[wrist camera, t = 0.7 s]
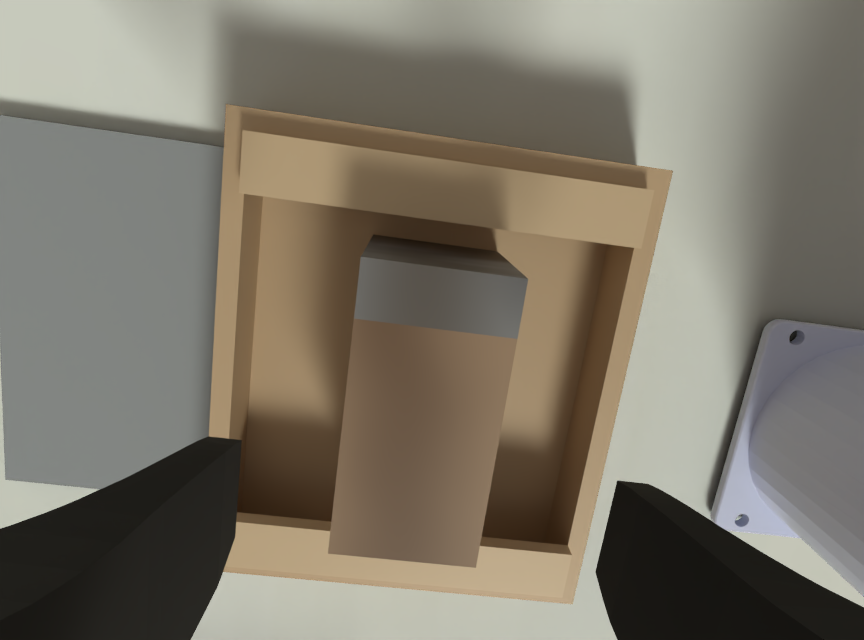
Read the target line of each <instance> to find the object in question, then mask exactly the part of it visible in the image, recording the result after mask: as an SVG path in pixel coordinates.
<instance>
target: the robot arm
mask: <svg viewBox="0 0 864 640" xmlns="http://www.w3.org/2000/svg"><path fill="white" fill-rule="evenodd" d="M794 331H797V336H796V338H795V339H794V340H793V341H791V342H790V341H789V337H790V335H791V333H792V332H794ZM241 443H242V440H237V439H228V438H219V437H210V436H208V437H206V438H203V439H201V440H198V441H196V442H194V443H192V444H190V445H188V446H186V447H184V448H183V449H181V450H179V451H177V452H175V453H173V454H171V455H169V456H167V457H165V458H163V459H162V460H160V461H158V462H156V463H154V464H152V465H150V466H148V467H146V468H144V469H142V470H140V471H138V472H136V473H134V474H132V475H130V476H128V477H126V478H124V479H122V480H120V481H118V482H115V483H113V484H111V485H109V486H107V487H105V488H102V489H100V490H98V491H96V492H94V493H92V494H89V495H87V496H85V497H83V498H81V499H79V500H76V501H74V502H71V503H69V504H67V505H64V506H62V507H59V508H57V509H54V510H52V511H49V512H47V513H44V514H41V515H38V516H36V517H33V518H30V519H27V520H25V521H22V522H19V523H16V524H14V525H11V526H8V527H5V528H2V529H0V640H191V638H192V636H193V634H194V632H195V630H196V628H197V626H198V624H199V622H200V620H201V618H202V616H203V614H204V612H205V610H206V608H207V606H208V604H209V602H210V600H211V598H212V596H213V594H214V592H215V590H216V588H217V586H218V584H219V581H220V578H221V576H222V573H223V570H224V568H225V565H226V562H227V559H228V556H229V553H230V551H231V548H232V545H233V542H234V539H235V533H236V518H237V503H238V488H239V473H240V458H241ZM740 514H743V516H742V517H741V518H740V519H739V520H736V521H735V519H736V517H737V516H739V515H740ZM711 519H712V521H713V522H712V521H711V520H709V519H707V518H706V517H704V516H703V515H701V514H700V513H698V512H696V511H695V510H693V509H692V508H690V507H688V506H687V505H685V504H684V503H682V502H680V501H679V500H677V499H675V498H674V497H672V496H670V495H669V494H667V493H665V492H663V491H661V490H659V489H658V488H655V487H653V486H651V485H649V484H643V483H634V482H625V481H617V485H616V489H615V493H614V497H613V501H612V505H611V510H610V514H609V518H608V522H607V526H606V531H605V535H604V539H603V543H602V547H601V551H600V556H599V560H598V564H597V568H596V575H597V578H598V582H599V586H600V590H601V593H602V597H603V601H604V604H605V607H606V610H607V614H608V617H609V620H610V623H611V625H612V628H613V630H614V632H615V635H616V637H617V639H618V640H864V607H862V606H860V605H858V604H856V603H854V602H852V601H850V600H848V599H846V598H844V597H842V596H840V595H838V594H836V593H834V592H832V591H830V590H828V589H826V588H824V587H822V586H820V585H818V584H816V583H814V582H813V581H811V580H809V579H807V578H805V577H803V576H802V575H800V574H798V573H796V572H795V571H793V570H791V569H789V568H788V567H786V566H784V565H783V564H781V563H779V562H777V561H776V560H774V559H772V558H770V557H769V556H767V555H765V554H764V553H762V552H760V551H759V550H757V549H755V548H754V547H752V546H750V545H749V544H747V543H746V542H744V541H742V540H741V539H739V538H738V537H736V536H734V535H733V534H731V533H730V532H728V531H736V532H745V533H755V534H764V535H774V536H784V537H793V538H801V539H802V540H803V541H804V542H805V543H806V544H808V545H809V546H810V547H811V548H812V549H813V550H814V551H815V552H816V553H817V554H818V555H819V556H820V557H821V558H823V559H824V560H825V561H826V562H827V563H828V564H829V565H830V566H831V567H832V568H833V569H834V570H835V571H836V572H837V573H839V574H840V575H841V576H842V577H843V578H844V579H845V580H846V581H847V582H848V583H849V584H850V585H851V586H852V587H854V588H855V589H856V590H857V591H858V592H859V593H860V594H861V595H862V596H863V597H864V330H860V329H852V328H845V327H837V326H829V325H822V324H814V323H807V322H799V321H792V320H784V319H775V320H773V321H771V322H769V323H768V324H767V325H766V326H765V328H764V330H763V332H762V336H761V339H760V343H759V346H758V350H757V353H756V357H755V360H754V364H753V367H752V371H751V374H750V378H749V381H748V385H747V388H746V392H745V395H744V399H743V402H742V406H741V409H740V413H739V416H738V420H737V423H736V427H735V430H734V434H733V437H732V441H731V444H730V448H729V451H728V455H727V458H726V462H725V465H724V469H723V472H722V476H721V479H720V483H719V486H718V490H717V493H716V497H715V500H714V504H713V507H712V511H711Z"/></svg>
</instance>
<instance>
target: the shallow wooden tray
mask: <svg viewBox="0 0 864 640" xmlns="http://www.w3.org/2000/svg"><path fill="white" fill-rule="evenodd" d="M672 173H673V171H671V170H664V169H657V168H651V167H644V166H637V165H631V164H624V163H617V162H610V161H604V160H597V159H590V158H584V157H577V156H570V155H563V154H557V153H550V152H543V151H537V150H530V149H523V148H517V147H510V146H503V145H496V144H490V143H483V142H476V141H470V140H463V139H456V138H449V137H443V136H436V135H429V134H423V133H416V132H409V131H403V130H396V129H389V128H382V127H376V126H369V125H362V124H356V123H349V122H342V121H335V120H329V119H322V118H315V117H309V116H302V115H295V114H289V113H282V112H275V111H268V110H262V109H255V108H248V107H242V106H235V105H228V104H226V114H225V133H224V153H223V172H222V191H221V210H220V229H219V249H218V268H217V287H216V306H215V326H214V345H213V364H212V383H211V402H210V422H209V436H210V437H219V438H228V439H237V440H242V443H241V458H240V473H239V488H238V503H237V518H236V533H235V539H234V542H233V545H232V548H231V551H230V553H229V556H228V559H227V562H226V565H225V568H224V570H223V572H231V573H241V574H252V575H263V576H274V577H285V578H295V579H306V580H317V581H328V582H339V583H349V584H360V585H371V586H382V587H393V588H403V589H414V590H425V591H436V592H447V593H457V594H468V595H479V596H490V597H500V598H511V599H522V600H533V601H544V602H554V603H565V604H573V600H574V596H575V591H576V587H577V583H578V578H579V574H580V570H581V566H582V561H583V557H584V553H585V548H586V544H587V540H588V535H589V531H590V527H591V522H592V518H593V514H594V509H595V505H596V501H597V496H598V492H599V488H600V483H601V479H602V475H603V471H604V466H605V462H606V458H607V453H608V449H609V445H610V440H611V436H612V432H613V427H614V423H615V419H616V414H617V410H618V406H619V401H620V397H621V393H622V389H623V384H624V380H625V376H626V371H627V367H628V363H629V358H630V354H631V350H632V345H633V341H634V337H635V332H636V328H637V324H638V319H639V315H640V311H641V307H642V302H643V298H644V294H645V289H646V285H647V281H648V276H649V272H650V268H651V263H652V259H653V255H654V250H655V246H656V242H657V237H658V233H659V229H660V224H661V220H662V216H663V212H664V207H665V203H666V199H667V194H668V190H669V186H670V181H671V177H672ZM373 234H374V235H381V236H388V237H396V238H403V239H410V240H418V241H425V242H433V243H440V244H447V245H455V246H462V247H469V248H477V249H484V250H491V251H498V252H499V253H500V254H501V255H502V256H503V257H504V258H505V259H507V260H508V261H509V262H510V263H511V264H512V265H513V266H514V267H516V268H517V269H518V270H519V271H520V272H521V273H522V274H523V275H525V276H526V277H527V278H528V284H527V290H526V295H525V301H524V306H523V312H522V317H521V323H520V328H519V334H518V339H517V345H516V350H515V356H514V361H513V367H512V372H511V378H510V383H509V389H508V394H507V400H506V405H505V411H504V416H503V422H502V427H501V433H500V438H499V444H498V449H497V455H496V460H495V466H494V471H493V477H492V482H491V487H490V493H489V498H488V504H487V509H486V515H485V520H484V526H483V531H482V537H481V542H480V548H479V553H478V559H477V564H476V568H472V567H462V566H451V565H441V564H431V563H420V562H410V561H399V560H389V559H378V558H368V557H358V556H347V555H337V554H328V548H329V539H330V530H331V521H332V512H333V503H334V494H335V485H336V476H337V467H338V458H339V449H340V440H341V431H342V422H343V413H344V404H345V395H346V386H347V377H348V368H349V359H350V350H351V341H352V332H353V323H354V314H355V305H356V296H357V287H358V278H359V269H360V260H361V255H362V254H363V252H364V250H365V248H366V247H367V245H368V243H369V241H370V239H371V238H372V236H373Z"/></svg>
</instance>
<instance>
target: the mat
mask: <svg viewBox="0 0 864 640" xmlns="http://www.w3.org/2000/svg"><path fill="white" fill-rule="evenodd" d="M223 153H224V147H219V146H212V145H205V144H198V143H191V142H184V141H178V140H171V139H164V138H157V137H150V136H143V135H136V134H129V133H122V132H115V131H108V130H101V129H94V128H87V127H80V126H73V125H66V124H59V123H52V122H46V121H39V120H32V119H25V118H18V117H11V116H4V115H0V352H1V377H2V403H3V428H4V453H5V479H6V480H15V481H25V482H34V483H44V484H54V485H64V486H74V487H84V488H94V489H102V488H105V487H107V486H109V485H111V484H113V483H115V482H118V481H120V480H122V479H124V478H126V477H128V476H130V475H132V474H134V473H136V472H138V471H140V470H142V469H144V468H146V467H148V466H150V465H152V464H154V463H156V462H158V461H160V460H162V459H163V458H165V457H167V456H169V455H171V454H173V453H175V452H177V451H179V450H181V449H183V448H184V447H186V446H188V445H190V444H192V443H194V442H196V441H198V440H201V439H203V438H206V437H208V436H209V422H210V402H211V383H212V364H213V345H214V326H215V306H216V287H217V268H218V249H219V229H220V210H221V191H222V172H223Z"/></svg>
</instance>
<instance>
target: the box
mask: <svg viewBox="0 0 864 640" xmlns="http://www.w3.org/2000/svg"><path fill="white" fill-rule="evenodd" d="M527 284H528V278H527V277H526V276H525V275H523V274H522V273H521V272H520V271H519V270H518V269H517V268H516V267H514V266H513V265H512V264H511V263H510V262H509V261H508V260H507V259H505V258H504V257H503V256H502V255H501V254H500V253H499V252H498V251H491V250H484V249H477V248H469V247H462V246H455V245H447V244H440V243H433V242H425V241H418V240H410V239H403V238H396V237H388V236H381V235H374V234H373V236H372V238H371V239H370V241H369V243H368V245H367V247H366V248H365V250H364V252H363V254H362V255H361V260H360V269H359V278H358V287H357V296H356V305H355V314H354V323H353V332H352V341H351V350H350V359H349V368H348V377H347V386H346V395H345V404H344V413H343V422H342V431H341V440H340V449H339V458H338V467H337V476H336V485H335V494H334V503H333V512H332V521H331V530H330V539H329V548H328V554H337V555H347V556H358V557H368V558H378V559H389V560H399V561H410V562H420V563H431V564H441V565H451V566H462V567H472V568H476V564H477V559H478V553H479V548H480V542H481V537H482V531H483V526H484V520H485V515H486V509H487V504H488V498H489V493H490V487H491V482H492V477H493V471H494V466H495V460H496V455H497V449H498V444H499V438H500V433H501V427H502V422H503V416H504V411H505V405H506V400H507V394H508V389H509V383H510V378H511V372H512V367H513V361H514V356H515V350H516V345H517V339H518V334H519V328H520V323H521V317H522V312H523V306H524V301H525V295H526V290H527Z"/></svg>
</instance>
